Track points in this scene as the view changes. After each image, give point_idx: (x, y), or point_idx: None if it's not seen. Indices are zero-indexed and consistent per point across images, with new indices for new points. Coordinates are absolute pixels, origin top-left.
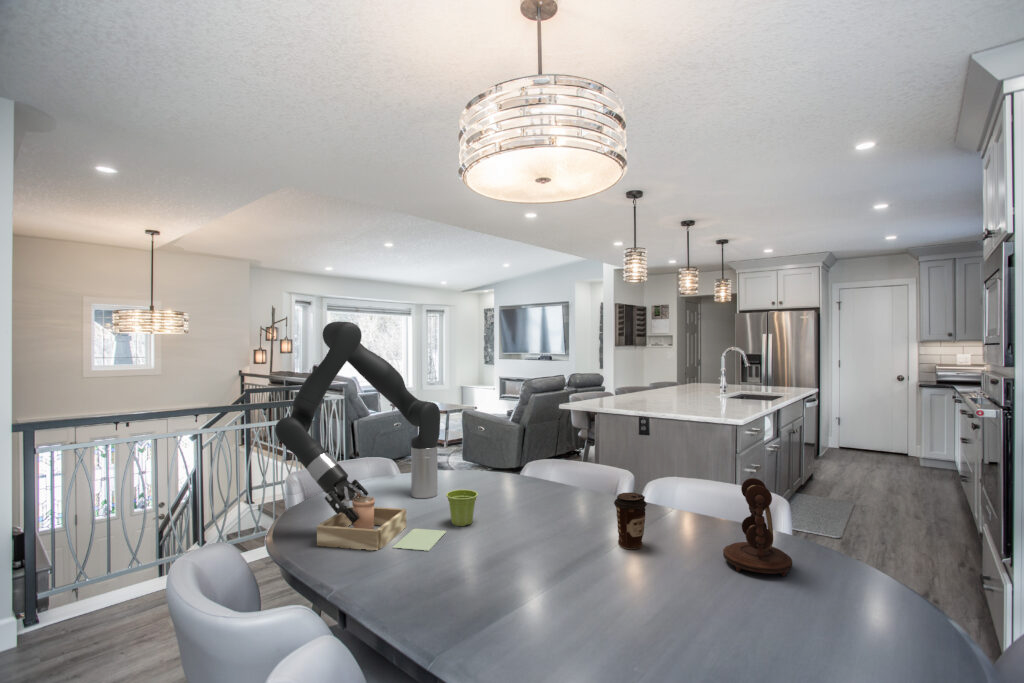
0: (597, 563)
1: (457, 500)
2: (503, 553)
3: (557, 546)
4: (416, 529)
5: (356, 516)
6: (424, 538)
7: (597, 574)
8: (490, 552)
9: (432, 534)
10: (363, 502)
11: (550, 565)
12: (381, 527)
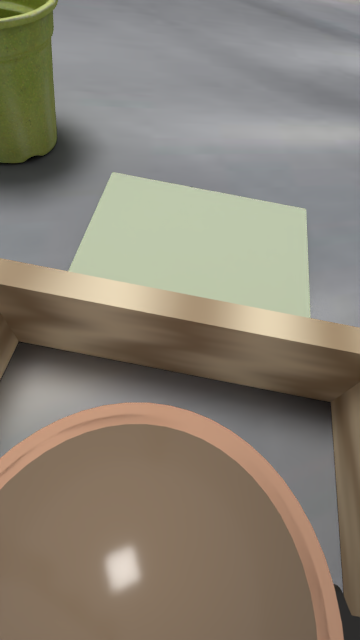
0: (288, 3)
1: (46, 17)
2: (274, 81)
3: (219, 21)
4: (80, 268)
5: (346, 607)
6: (194, 229)
7: (331, 10)
8: (274, 98)
9: (149, 209)
10: (297, 546)
11: (315, 39)
12: (347, 339)
